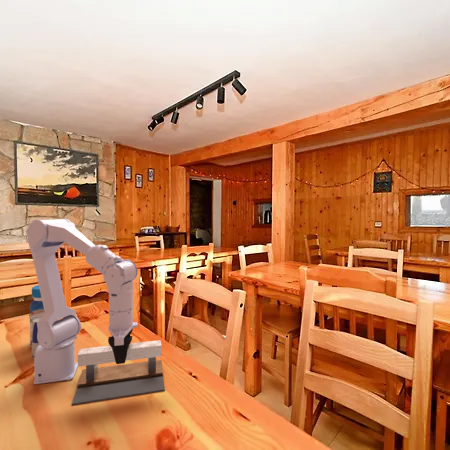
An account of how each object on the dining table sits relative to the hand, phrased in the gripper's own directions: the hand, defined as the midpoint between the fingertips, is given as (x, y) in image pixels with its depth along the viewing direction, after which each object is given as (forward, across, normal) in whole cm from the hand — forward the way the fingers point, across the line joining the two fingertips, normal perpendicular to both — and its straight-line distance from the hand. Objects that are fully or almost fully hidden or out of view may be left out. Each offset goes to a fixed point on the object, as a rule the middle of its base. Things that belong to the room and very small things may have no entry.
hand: (121, 359), depth 74 cm
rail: (0, 0, 0) cm, 0 cm away
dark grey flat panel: (+8, 0, 0) cm, 8 cm away
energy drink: (+9, +24, +25) cm, 36 cm away
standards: (+8, +7, 0) cm, 11 cm away
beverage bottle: (+9, +33, +27) cm, 43 cm away
